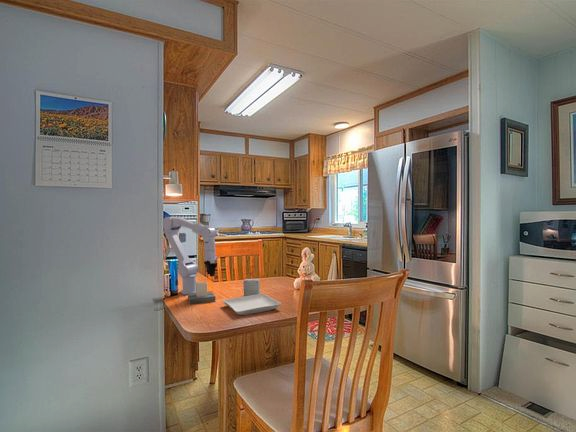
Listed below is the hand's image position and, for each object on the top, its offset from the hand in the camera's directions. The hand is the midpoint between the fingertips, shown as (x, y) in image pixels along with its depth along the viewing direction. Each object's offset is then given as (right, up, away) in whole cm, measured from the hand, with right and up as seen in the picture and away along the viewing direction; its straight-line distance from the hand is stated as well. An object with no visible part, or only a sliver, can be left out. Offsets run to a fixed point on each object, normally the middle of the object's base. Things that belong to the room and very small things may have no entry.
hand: (211, 275), depth 173 cm
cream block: (-2, -8, -10) cm, 13 cm away
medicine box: (+23, -10, -5) cm, 25 cm away
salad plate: (+25, -11, -26) cm, 38 cm away
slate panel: (-2, -11, -10) cm, 15 cm away
